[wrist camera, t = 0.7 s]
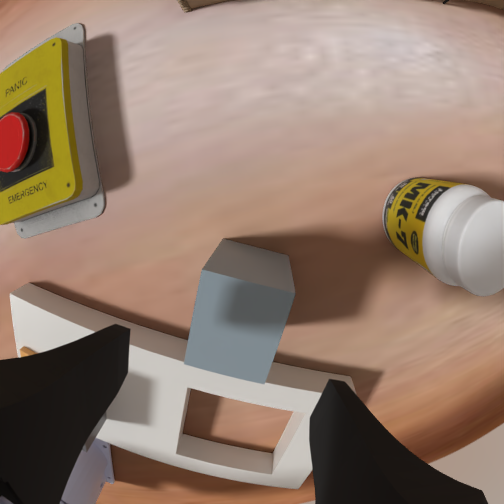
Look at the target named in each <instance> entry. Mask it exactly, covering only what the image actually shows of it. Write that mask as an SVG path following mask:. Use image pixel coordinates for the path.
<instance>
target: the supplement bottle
mask: <svg viewBox="0 0 504 504" xmlns="http://www.w3.org/2000/svg"><path fill="white" fill-rule="evenodd" d="M382 219H383V227H384V231H385V234H386V236H387V238H388V239H389V241H390V242H391V243H392V244H393V245H394V246H395V247H396V248H397V249H398V250H400V251H401V252H402V253H404V254H405V255H406V256H408V257H409V258H410V259H412V260H413V261H414V262H416V263H417V264H419V265H420V266H421V267H423V268H424V269H425V270H427V271H428V272H429V273H430V274H432V275H433V276H434V277H436V278H437V279H438V280H440V281H442V282H443V283H446V284H448V285H452V286H460V287H462V288H464V289H466V290H467V291H469V292H470V293H472V294H474V295H477V296H489V295H493V294H495V293H497V292H499V291H500V290H502V289H503V288H504V201H502V200H498V199H495V198H491V197H490V196H489V195H488V194H487V193H486V192H485V191H483V190H482V189H480V188H478V187H476V186H473V185H469V184H462V183H456V182H449V181H442V180H434V179H426V178H418V177H417V178H410V179H406V180H404V181H402V182H400V183H399V184H397V185H396V186H395V187H394V188H393V189H392V190H391V191H390V193H389V195H388V196H387V198H386V201H385V204H384V208H383V215H382Z"/></svg>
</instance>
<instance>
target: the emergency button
mask: <svg viewBox="0 0 504 504" xmlns="http://www.w3.org/2000/svg"><path fill="white" fill-rule="evenodd" d="M104 207H105V197H104V192H103V187H102V182H101V177H100V172H99V166H98V161H97V155H96V149H95V143H94V136H93V129H92V122H91V114H90V105H89V96H88V86H87V74H86V59H85V36H84V28H83V26H82V25H80V24H79V23H76V24H72V25H71V26H69V27H67V28H65V29H63V30H62V31H60V32H58V33H56V34H55V35H53V36H51V37H50V38H48V39H46V40H45V41H43V42H42V43H40V44H38V45H37V46H35V47H34V48H32V49H31V50H29V51H28V52H26V53H25V54H23V55H22V56H20V57H19V58H18V59H16V60H15V61H13V62H12V63H11V64H9V65H8V66H7V67H6V68H5V69H4V70H3V72H2V73H1V74H0V225H5V224H9V223H14V224H15V228H16V231H17V233H18V235H19V236H20V237H21V238H29V237H32V236H35V235H38V234H41V233H44V232H47V231H51V230H54V229H57V228H61V227H64V226H67V225H71V224H74V223H78V222H81V221H85V220H88V219H92V218H95V217H98V216H99V215H100V214H102V212H103V209H104Z"/></svg>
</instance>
